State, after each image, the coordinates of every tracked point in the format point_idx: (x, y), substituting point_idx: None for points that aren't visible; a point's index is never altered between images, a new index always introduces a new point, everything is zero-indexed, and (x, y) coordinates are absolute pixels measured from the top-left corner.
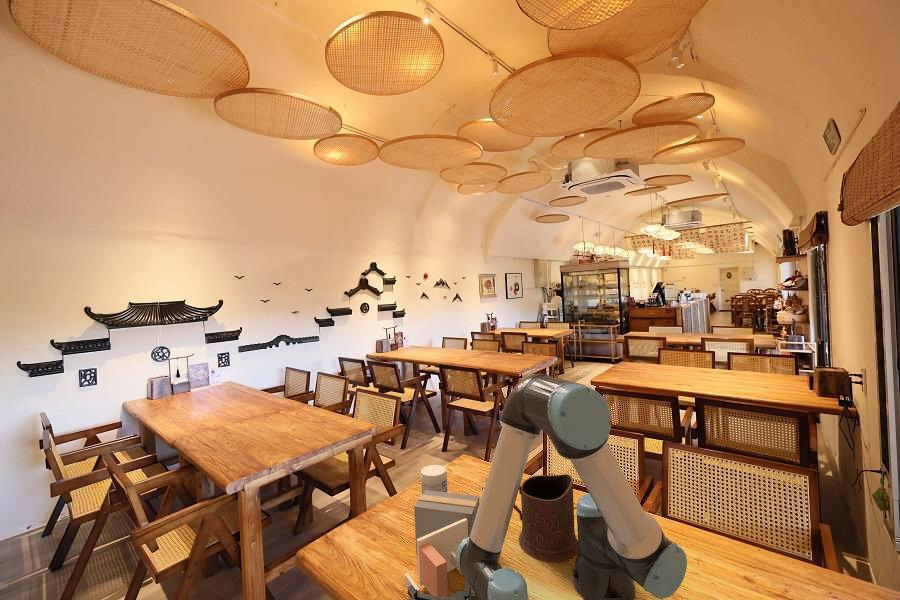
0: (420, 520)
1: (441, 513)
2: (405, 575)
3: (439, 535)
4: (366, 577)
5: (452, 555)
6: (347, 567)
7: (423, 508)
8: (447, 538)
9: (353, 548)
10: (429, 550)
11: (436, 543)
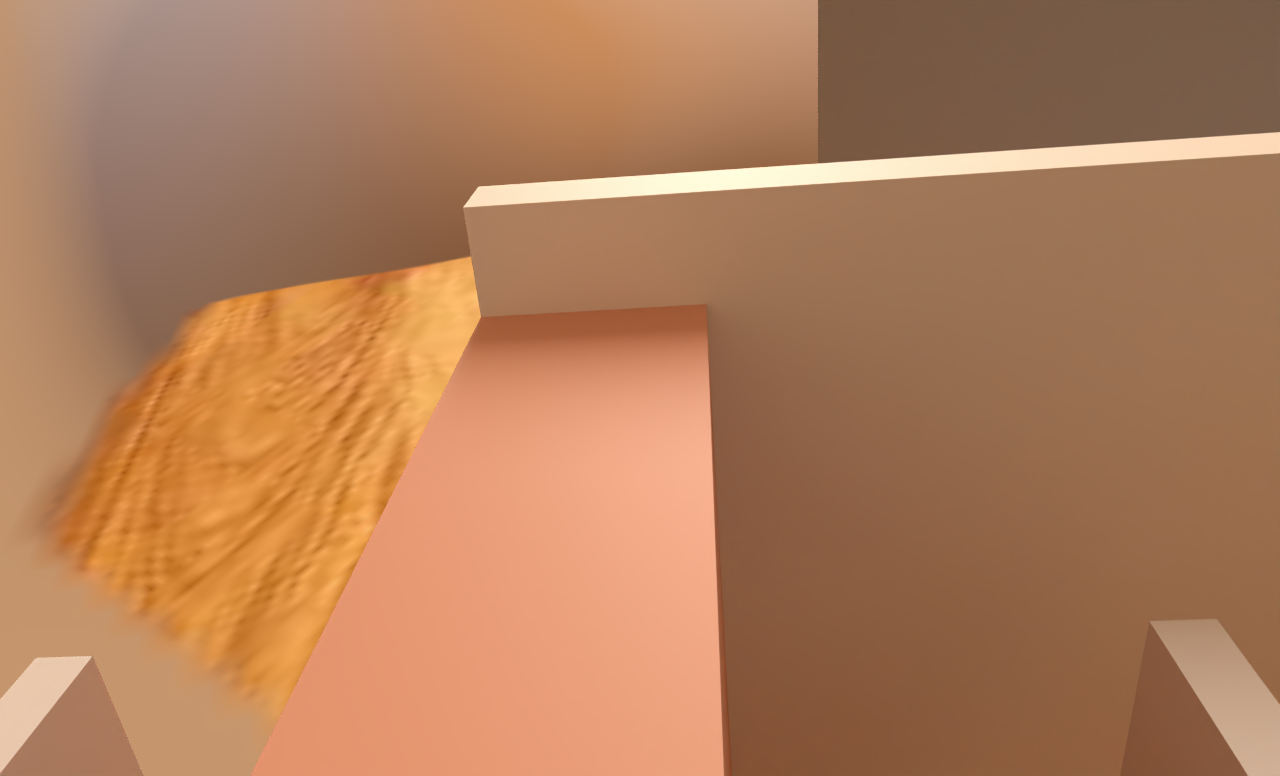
0: None
1: (1169, 55)
2: (18, 682)
3: (980, 247)
4: (298, 520)
5: (1194, 710)
6: (285, 417)
7: (918, 5)
8: (1167, 366)
9: (437, 336)
10: (576, 414)
11: (890, 379)
